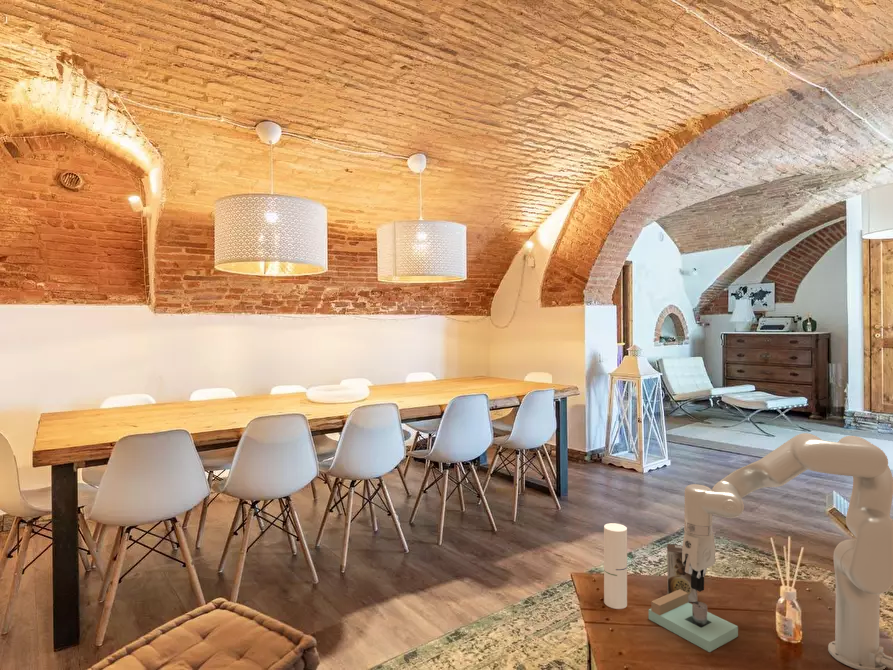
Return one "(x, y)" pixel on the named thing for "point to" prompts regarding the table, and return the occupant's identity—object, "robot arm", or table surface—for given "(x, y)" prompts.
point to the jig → (690, 622)
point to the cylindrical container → (615, 565)
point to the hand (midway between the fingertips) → (697, 589)
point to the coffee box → (678, 573)
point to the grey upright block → (699, 614)
